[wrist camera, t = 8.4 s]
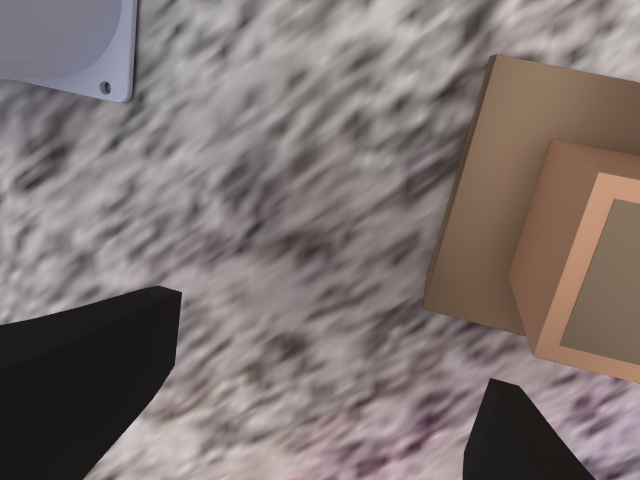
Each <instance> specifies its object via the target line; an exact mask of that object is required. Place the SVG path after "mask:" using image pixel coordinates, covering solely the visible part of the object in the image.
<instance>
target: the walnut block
mask: <svg viewBox="0 0 640 480" xmlns="http://www.w3.org/2000/svg"><path fill="white" fill-rule="evenodd" d="M552 139H554V140H559V141H564V142H570V143H575V144H580V145H585V146H590V147H596V148H601V149H606V150H611V151H616V152H622V153H627V154H632V155H637V156H640V83H638V82H633V81H628V80H623V79H618V78H613V77H608V76H603V75H598V74H593V73H588V72H582V71H577V70H572V69H567V68H562V67H557V66H552V65H547V64H542V63H537V62H532V61H527V60H522V59H517V58H512V57H507V56H502V55H493V56H490V59H489V62H488V66H487V69H486V73H485V76H484V80H483V83H482V87H481V90H480V93H479V97H478V100H477V104H476V107H475V111H474V114H473V118H472V121H471V125H470V128H469V132H468V135H467V139H466V142H465V146H464V149H463V153H462V156H461V160H460V163H459V167H458V170H457V174H456V177H455V180H454V184H453V187H452V191H451V194H450V198H449V201H448V205H447V208H446V212H445V215H444V219H443V222H442V226H441V229H440V233H439V236H438V240H437V243H436V247H435V250H434V254H433V257H432V261H431V264H430V267H429V271H428V274H427V278H426V281H425V291H424V304H423V309H426V310H429V311H433V312H437V313H441V314H444V315H448V316H452V317H455V318H459V319H463V320H467V321H470V322H474V323H478V324H481V325H485V326H489V327H493V328H496V329H500V330H504V331H507V332H511V333H515V334H519V335H522V336H526V332H525V329H524V326H523V322H522V319H521V316H520V313H519V309H518V306H517V303H516V299H515V296H514V293H513V289H512V286H511V283H510V280H509V276H508V275H509V271H510V268H511V265H512V262H513V259H514V256H515V253H516V249H517V246H518V243H519V240H520V237H521V234H522V231H523V227H524V224H525V221H526V218H527V215H528V212H529V209H530V206H531V202H532V199H533V196H534V193H535V190H536V187H537V184H538V180H539V177H540V174H541V171H542V168H543V165H544V162H545V158H546V155H547V152H548V149H549V146H550V143H551V140H552ZM526 337H527V336H526Z"/></svg>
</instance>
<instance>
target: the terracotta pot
mask: <svg viewBox="0 0 640 480" xmlns="http://www.w3.org/2000/svg"><path fill="white" fill-rule="evenodd" d="M508 276H509V280H510V283H511V286H512V289H513V293H514V296H515V299H516V303H517V306H518V309H519V313H520V316H521V319H522V322H523V326H524V329H525V332H526V336H527V339H528V342H529V345H530V349H531V352H532V355H533V357H537V358H541V359H545V360H549V361H553V362H557V363H561V364H565V365H568V366H572V367H576V368H580V369H584V370H588V371H592V372H596V373H600V374H604V375H608V376H612V377H616V378H620V379H624V380H628V381H632V382H636V383H639V384H640V156H637V155H632V154H627V153H622V152H616V151H611V150H606V149H601V148H596V147H590V146H585V145H580V144H575V143H570V142H564V141H559V140H554V139H552V140H551V143H550V146H549V149H548V152H547V155H546V158H545V162H544V165H543V168H542V171H541V174H540V177H539V180H538V184H537V187H536V190H535V193H534V196H533V199H532V202H531V206H530V209H529V212H528V215H527V218H526V221H525V224H524V227H523V231H522V234H521V237H520V240H519V243H518V246H517V249H516V253H515V256H514V259H513V262H512V265H511V268H510V271H509V275H508Z"/></svg>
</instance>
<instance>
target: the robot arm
mask: <svg viewBox="0 0 640 480" xmlns="http://www.w3.org/2000/svg"><path fill="white" fill-rule="evenodd" d="M136 16H137V0H0V79H13V80H18V81H22V82H27V83H31V84H35V85H40V86H44V87H49V88H53V89H57V90H62V91H66V92H71V93H75V94H79V95H84V96H88V97H93V98H97V99H101V100H106V101H110V102H115V103H124V102H127V101H128V100H129V99H130V98H131V95H132V86H133V68H134V51H135V33H136ZM107 82H108V83H109V84H110V86H111V91H110V93H107V91H106V89H105V84H106V83H107ZM181 298H182V292H179V291H176V290H172V289H168V288H165V287H161V286H154V287H149V288H145V289H141V290H137V291H133V292H130V293H126V294H123V295H120V296H116V297H113V298H109V299H106V300H102V301H99V302H96V303H92V304H89V305H85V306H82V307H78V308H74V309H70V310H66V311H62V312H58V313H54V314H50V315H47V316H43V317H39V318H34V319H30V320H25V321H20V322H15V323H10V324H4V325H0V480H83V479H84V477H85V476H86V475H87V474H88V473H89V471H90V470H91V469H92V468H93V467H94V466H95V464H96V463H97V462H98V461H99V460H100V459H101V458H102V457H103V455H104V454H105V453H106V452H107V451H108V450H109V449H110V448H111V446H112V445H113V444H114V443H115V442H116V441H117V440H118V438H119V437H120V436H121V435H122V434H123V433H124V432H125V431H126V429H127V428H128V427H129V426H130V425H131V424H132V423H133V421H134V420H135V419H136V418H137V417H138V416H139V415H140V413H141V412H142V411H143V410H144V409H145V408H146V406H147V405H148V404H149V403H150V402H151V401H152V399H153V398H154V396H155V395H156V393H157V392H158V391H159V389H160V388H161V386H162V385H163V383H164V382H165V380H166V378H167V377H168V375H169V374H170V372H171V370H172V369H173V367H174V366H175V356H176V347H177V337H178V327H179V317H180V308H181ZM463 480H596V479H595V478H594V477H593V476H592V475H591V474H590V473H589V472H588V471H587V470H586V468H585V467H584V466H583V465H582V464H581V463H580V461H579V460H578V459H577V458H576V457H575V456H574V454H573V453H572V452H571V451H570V449H569V448H568V447H567V446H566V445H565V443H564V442H563V441H562V440H561V438H560V437H559V436H558V435H557V433H556V432H555V431H554V430H553V428H552V427H551V426H550V424H549V423H548V422H547V421H546V419H545V418H544V417H543V415H542V414H541V413H540V411H539V410H538V409H537V408H536V406H535V405H534V404H533V402H532V401H531V400H530V399H529V397H528V396H527V395H526V394H525V392H524V391H523V390H522V389H521V388H520V387H519V386H517V385H514V384H510V383H507V382H503V381H499V380H496V379H492V378H490V380H489V383H488V386H487V389H486V391H485V394H484V397H483V400H482V403H481V406H480V408H479V411H478V414H477V417H476V420H475V423H474V425H473V428H472V431H471V434H470V437H469V440H468V442H467V445H466V448H465V451H464V461H463Z"/></svg>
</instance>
